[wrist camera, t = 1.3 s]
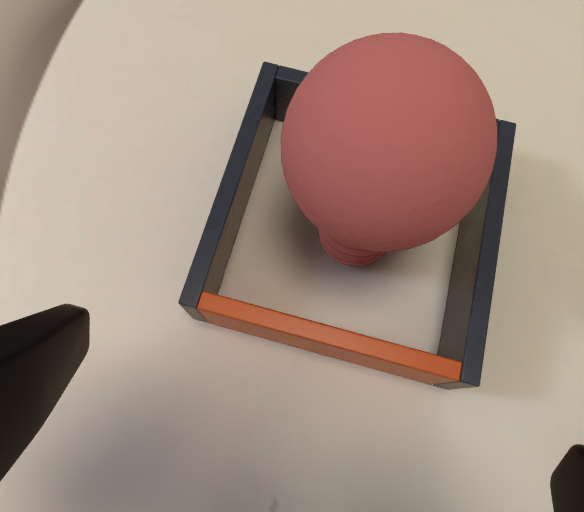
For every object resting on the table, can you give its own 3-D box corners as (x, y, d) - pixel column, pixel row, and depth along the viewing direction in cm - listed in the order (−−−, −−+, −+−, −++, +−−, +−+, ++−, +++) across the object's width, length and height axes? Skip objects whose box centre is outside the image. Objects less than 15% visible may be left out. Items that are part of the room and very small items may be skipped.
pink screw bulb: (271, 179, 25) (266, -13, 13) (401, 165, 25) (503, -32, 14) (289, 310, 23) (301, 214, 11) (431, 291, 23) (580, 181, 12)
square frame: (448, 389, 22) (480, 387, 18) (192, 318, 22) (177, 303, 19) (485, 159, 26) (516, 122, 22) (265, 104, 26) (263, 60, 23)
